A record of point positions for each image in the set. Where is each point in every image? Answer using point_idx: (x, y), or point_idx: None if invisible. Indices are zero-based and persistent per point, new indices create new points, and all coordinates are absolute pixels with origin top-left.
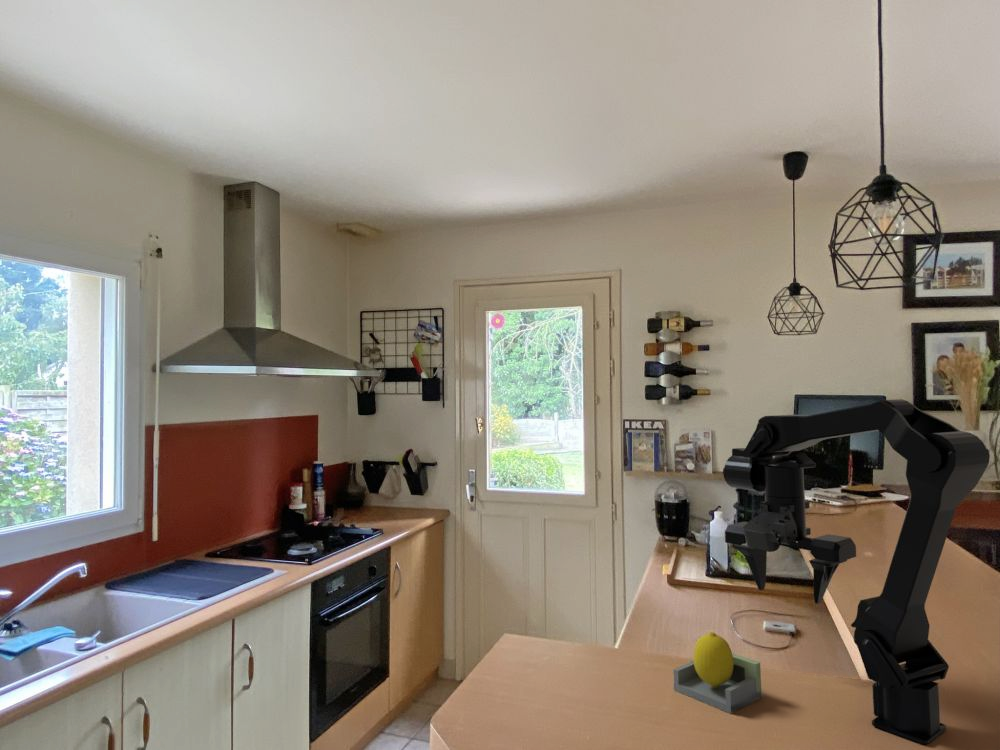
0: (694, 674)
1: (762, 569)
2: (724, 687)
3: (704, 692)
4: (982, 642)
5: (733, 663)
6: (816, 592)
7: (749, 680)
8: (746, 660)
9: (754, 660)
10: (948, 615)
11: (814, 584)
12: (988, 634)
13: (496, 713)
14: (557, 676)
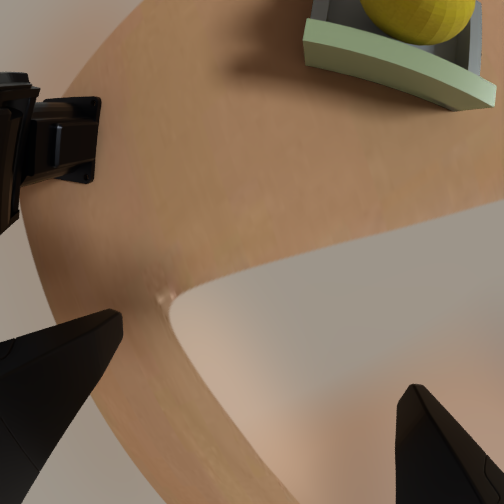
0: (458, 52)
1: (416, 487)
2: (380, 32)
3: None
4: (133, 454)
5: (365, 2)
6: (72, 328)
7: (315, 12)
8: (342, 30)
9: (323, 44)
10: (189, 499)
11: (46, 348)
12: (140, 469)
13: None
14: None
